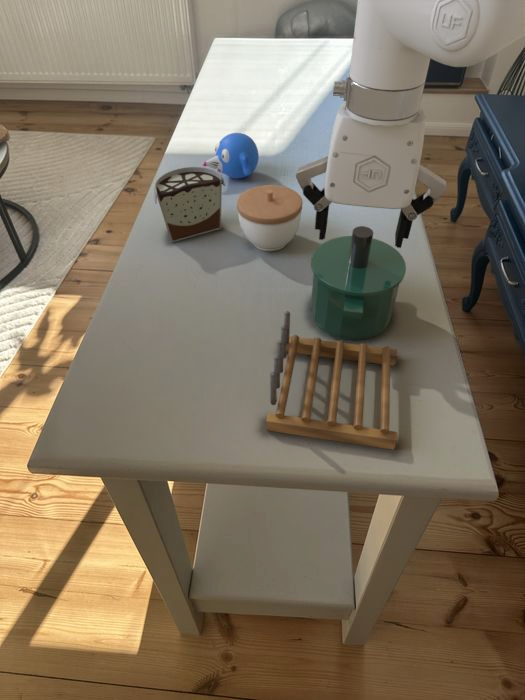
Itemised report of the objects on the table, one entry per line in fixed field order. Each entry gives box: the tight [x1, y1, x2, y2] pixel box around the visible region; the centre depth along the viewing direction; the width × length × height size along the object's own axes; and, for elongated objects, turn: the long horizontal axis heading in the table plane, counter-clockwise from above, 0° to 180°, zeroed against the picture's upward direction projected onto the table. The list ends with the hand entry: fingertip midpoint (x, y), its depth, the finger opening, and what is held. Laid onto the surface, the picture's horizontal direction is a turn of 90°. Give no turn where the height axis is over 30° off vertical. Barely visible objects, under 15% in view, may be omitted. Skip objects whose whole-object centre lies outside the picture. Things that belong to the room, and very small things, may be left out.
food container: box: [153, 166, 226, 243], centre depth 84 cm, size 12×6×10 cm, turn 116°
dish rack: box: [265, 310, 398, 450], centre depth 58 cm, size 15×14×8 cm
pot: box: [310, 273, 400, 341], centre depth 68 cm, size 12×17×8 cm
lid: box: [310, 225, 407, 296], centre depth 64 cm, size 13×13×6 cm
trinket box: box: [236, 184, 303, 252], centre depth 81 cm, size 11×11×9 cm
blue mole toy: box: [201, 132, 259, 179], centre depth 97 cm, size 12×12×8 cm
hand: (360, 237), depth 62 cm, fingers open, 9 cm apart
